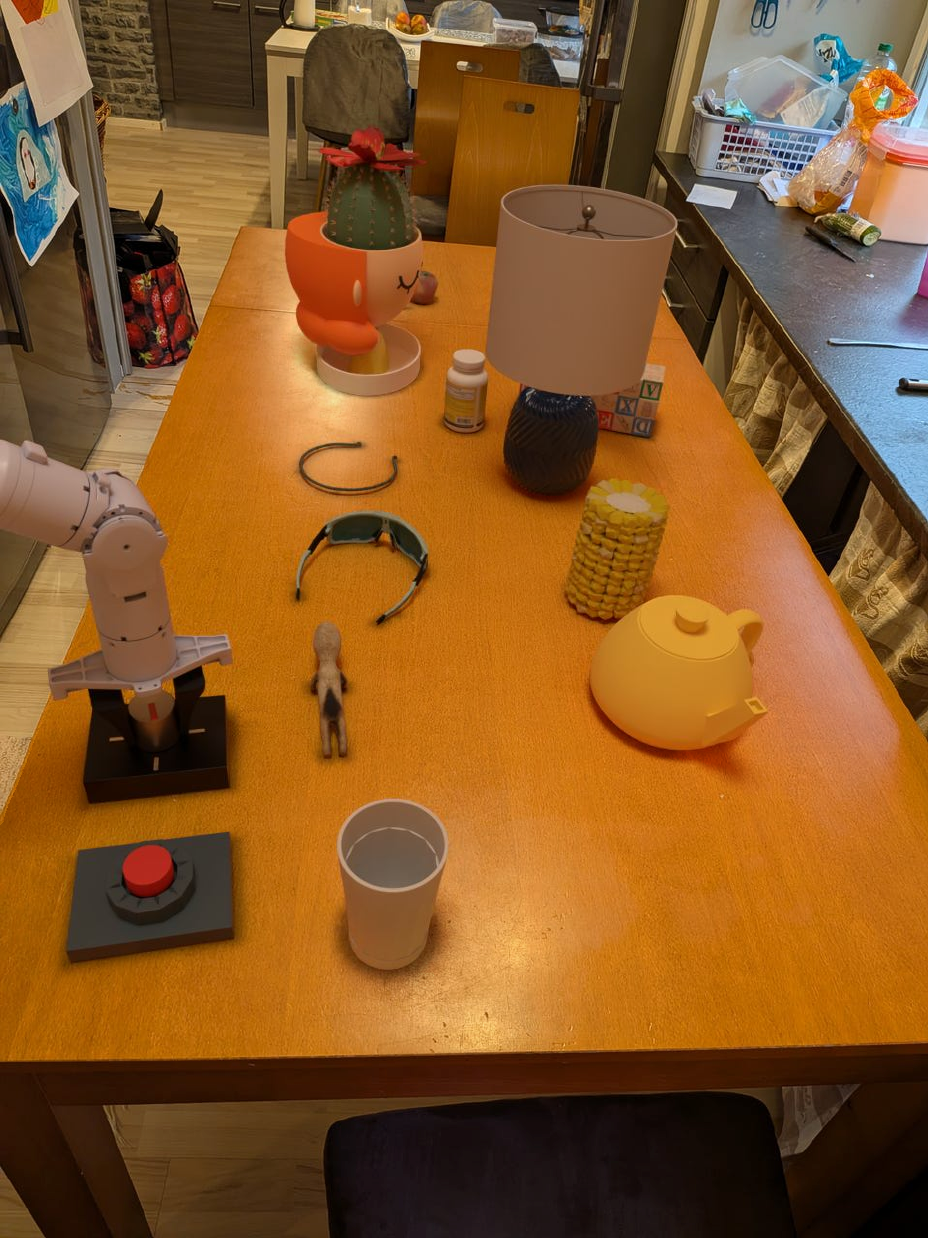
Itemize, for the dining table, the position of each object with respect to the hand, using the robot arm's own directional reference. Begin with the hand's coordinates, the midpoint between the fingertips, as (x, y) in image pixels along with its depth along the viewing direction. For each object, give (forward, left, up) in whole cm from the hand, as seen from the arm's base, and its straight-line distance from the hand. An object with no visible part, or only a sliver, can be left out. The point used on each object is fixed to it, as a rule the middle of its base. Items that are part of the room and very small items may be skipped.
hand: (156, 732), depth 81 cm
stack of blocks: (+62, +62, -4) cm, 88 cm away
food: (+50, +18, -4) cm, 53 cm away
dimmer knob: (0, 0, 0) cm, 0 cm away
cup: (+18, -21, -4) cm, 28 cm away
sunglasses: (+22, +25, -4) cm, 34 cm away
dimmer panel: (0, 0, -3) cm, 3 cm away
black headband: (+23, +49, -4) cm, 54 cm away
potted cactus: (+28, +82, -4) cm, 87 cm away
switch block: (0, -15, -3) cm, 15 cm away
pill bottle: (+42, +61, -4) cm, 74 cm away
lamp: (+50, +44, -4) cm, 67 cm away
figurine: (+16, +5, -4) cm, 17 cm away
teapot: (+52, -1, -4) cm, 52 cm away
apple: (+44, +109, -4) cm, 118 cm away
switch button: (0, -15, 0) cm, 15 cm away
